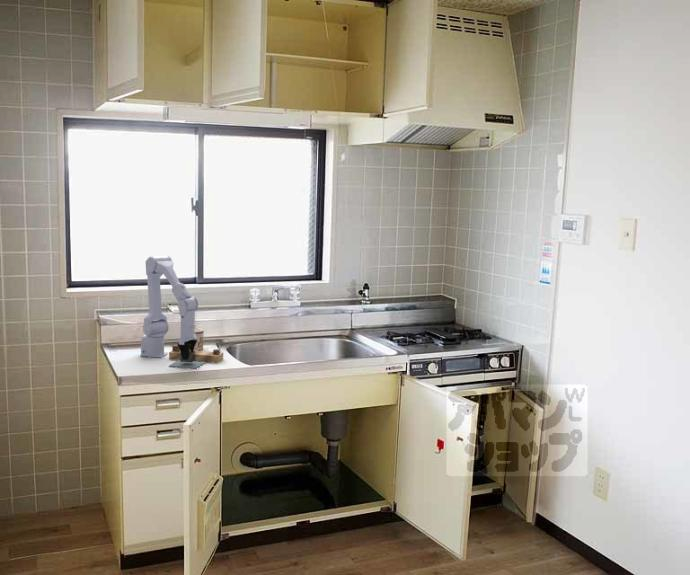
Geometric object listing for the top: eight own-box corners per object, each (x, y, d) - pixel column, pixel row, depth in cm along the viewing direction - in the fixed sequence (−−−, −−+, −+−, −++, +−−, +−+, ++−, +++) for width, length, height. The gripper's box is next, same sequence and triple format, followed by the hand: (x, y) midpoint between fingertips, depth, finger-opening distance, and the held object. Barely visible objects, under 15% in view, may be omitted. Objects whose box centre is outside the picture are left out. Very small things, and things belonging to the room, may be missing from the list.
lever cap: (180, 361, 300) (180, 350, 299) (184, 359, 304) (184, 348, 303) (191, 362, 299) (191, 351, 298) (195, 360, 303) (195, 349, 303)
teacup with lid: (201, 351, 327) (202, 326, 325) (181, 351, 326) (182, 326, 325) (205, 346, 338) (206, 321, 337) (186, 345, 338) (186, 321, 336)
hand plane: (169, 359, 311) (169, 346, 310) (175, 355, 318) (175, 343, 317) (218, 363, 308) (218, 350, 307) (223, 359, 314) (223, 347, 314)
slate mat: (168, 366, 298) (168, 365, 298) (177, 361, 307) (177, 360, 307) (196, 369, 296) (196, 367, 296) (204, 363, 306) (204, 362, 306)
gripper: (190, 330, 292) (190, 362, 294) (202, 323, 306) (202, 355, 308) (174, 329, 293) (173, 361, 295) (186, 322, 307) (186, 353, 309)
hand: (187, 358), depth 301 cm, fingers closed on lever cap, 4 cm apart
